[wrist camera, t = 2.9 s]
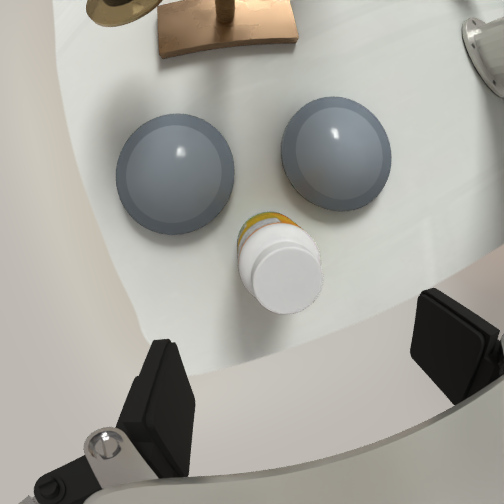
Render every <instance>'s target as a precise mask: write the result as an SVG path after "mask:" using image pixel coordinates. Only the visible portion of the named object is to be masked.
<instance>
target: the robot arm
mask: <svg viewBox="0 0 504 504" xmlns="http://www.w3.org/2000/svg"><path fill="white" fill-rule="evenodd" d="M462 34H463V39H464V43H465V46H466V49H467V51H468V53H469V56H470V58H471V60H472V62H473V64H474V66H475V67H476V69H477V71H478V73H479V74H480V76H481V77H482V79H483V80H484V81H485V83H486V84H487V85H488V86H489V88H490V89H491V90H492V91H493V92H494V93H496V94H497V95H498V96H500V97H501V98H504V17H502V18H499V19H496V20H494V21H491V22H489V23H484V22H483V21H481V20H479V19H477V18H469V19H468V20H466V21H465V22H464V23H463V27H462ZM499 332H500V330H499V329H497V328H496V327H494V326H493V325H491V324H490V323H488V322H487V321H485V320H484V319H482V318H481V317H480V316H478V315H477V314H475V313H473V312H472V311H470V310H469V309H467V308H466V307H464V306H463V305H461V304H460V303H458V302H457V301H455V300H453V299H452V298H450V297H449V296H447V295H446V294H444V293H442V292H441V291H439V290H437V289H436V288H431V289H428V290H424V291H422V292H421V294H420V296H419V297H418V301H417V309H416V318H415V324H414V331H413V337H412V343H411V348H410V354H411V357H412V359H414V361H415V362H416V363H417V364H418V365H419V366H420V367H421V368H422V370H423V371H424V372H425V373H426V374H427V375H428V376H429V377H430V378H431V379H432V381H433V382H434V383H435V384H436V385H437V386H438V387H439V388H440V390H441V391H442V392H443V393H444V394H445V395H446V396H447V398H448V399H449V400H450V401H451V402H452V403H453V404H454V405H455V406H453V407H452V408H450V409H448V410H446V411H444V412H442V413H440V414H438V415H437V416H435V417H433V418H431V419H429V420H427V421H424V422H422V423H420V424H418V425H416V426H414V427H412V428H409V429H407V430H405V431H403V432H400V433H398V434H395V435H393V436H390V437H388V438H385V439H383V440H380V441H378V442H375V443H372V444H369V445H366V446H363V447H360V448H357V449H354V450H351V451H348V452H344V453H341V454H338V455H334V456H331V457H327V458H323V459H319V460H315V461H311V462H306V463H302V464H297V465H293V466H287V467H281V468H276V469H269V470H263V471H256V472H248V473H239V474H230V475H218V476H198V477H188V475H189V465H190V454H191V443H192V432H193V422H194V413H195V398H194V394H193V392H192V389H191V386H190V383H189V381H188V378H187V375H186V372H185V369H184V366H183V363H182V360H181V357H180V354H179V351H178V347H177V345H176V343H175V342H173V343H171V341H170V339H162V340H154V341H153V342H152V345H151V347H150V349H149V352H148V354H147V357H146V359H145V362H144V364H143V367H142V369H141V372H140V374H139V376H137V377H135V379H134V381H133V383H132V386H131V388H130V391H129V393H128V396H127V398H126V401H125V403H124V406H123V409H122V412H121V414H120V417H119V420H118V422H117V425H116V427H115V428H113V427H106V428H101V429H98V430H96V431H94V432H93V433H91V434H90V435H89V436H88V437H87V439H86V441H85V443H84V453H85V455H84V456H82V457H80V458H78V459H76V460H74V461H72V462H70V463H68V464H66V465H64V466H62V467H60V468H58V469H55V470H53V471H51V472H49V473H47V474H45V475H43V476H42V477H40V478H39V479H38V480H37V482H36V484H35V486H34V495H35V496H34V497H33V498H32V497H30V496H28V497H26V498H25V499H24V500H23V501H22V502H20V503H19V504H504V334H503V335H502V337H501V340H500V341H499V340H498V335H499Z"/></svg>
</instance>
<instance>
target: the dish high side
mask: <svg viewBox="0 0 504 504" xmlns="http://www.w3.org/2000/svg"><path fill="white" fill-rule="evenodd" d="M281 159H282V164H283V167H284V170H285V173H286V175H287V177H288V179H289V181H290V183H291V184H292V186H293V187H294V188H295V189H296V191H297V192H298V193H299V194H300V195H301V196H303V197H304V198H305V199H307V200H308V201H309V202H311V203H313V204H315V205H317V206H320V207H323V208H325V209H329V210H333V211H350V210H355V209H358V208H361V207H363V206H365V205H367V204H368V203H369V202H371V201H372V200H373V199H374V198H375V197H377V195H378V194H379V193H380V192H381V191H382V189H383V187H384V186H385V184H386V182H387V179H388V176H389V173H390V168H391V148H390V143H389V140H388V137H387V134H386V132H385V130H384V128H383V126H382V125H381V123H380V122H379V121H378V119H377V118H376V117H375V116H374V115H373V114H372V113H371V112H370V111H369V110H368V109H367V108H365V107H364V106H362V105H361V104H359V103H357V102H355V101H352V100H350V99H346V98H342V97H324V98H319V99H317V100H314V101H312V102H310V103H308V104H306V105H305V106H304V107H302V108H301V109H300V110H299V111H298V112H297V113H296V114H295V115H294V116H293V117H292V118H291V120H290V121H289V122H288V124H287V126H286V128H285V131H284V134H283V137H282V142H281Z"/></svg>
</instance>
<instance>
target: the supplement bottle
mask: <svg viewBox="0 0 504 504" xmlns="http://www.w3.org/2000/svg"><path fill="white" fill-rule="evenodd" d="M237 251H238V267H239V273H240V277H241V280H242V282H243V284H244V286H245V287H246V289H247V290H248V291H249V292H250V293H251V294H252V295H253V296H254V297H256V298H257V300H258V301H259V303H260V304H261V305H262V306H263V307H265V308H266V309H268V310H269V311H271V312H274V313H277V314H293V313H297V312H300V311H302V310H304V309H306V308H307V307H309V306H310V305H311V304H312V303H313V302H314V301H315V300H316V299H317V297H318V295H319V294H320V291H321V289H322V285H323V271H322V268H321V256H320V252H319V249H318V247H317V245H316V243H315V241H314V240H313V239H312V237H311V236H310V235H309V234H308V233H307V232H306V231H304V230H303V229H302V228H301V227H299V226H298V225H297V224H296V223H294V222H293V221H292V220H290V219H289V218H288V217H286V216H284V215H282V214H280V213H277V212H262V213H259V214H256V215H254V216H252V217H251V218H249V219H248V220H247V221H246V222H245V223H244V225H243V226H242V228H241V230H240V232H239V235H238V240H237Z"/></svg>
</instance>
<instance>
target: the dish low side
mask: <svg viewBox="0 0 504 504" xmlns="http://www.w3.org/2000/svg"><path fill="white" fill-rule="evenodd" d="M233 182H234V162H233V157H232V153H231V151H230V148H229V146H228V144H227V142H226V140H225V139H224V137H223V136H222V135H221V133H220V132H219V131H218V130H217V129H216V128H215V127H213V126H212V125H211V124H209V123H208V122H206V121H204V120H203V119H200V118H198V117H195V116H191V115H187V114H169V115H163V116H160V117H157V118H155V119H152V120H150V121H148V122H147V123H145V124H143V125H142V126H141V127H140V128H138V129H137V130H136V131H135V132H134V133H133V134H132V135H131V136H130V138H129V139H128V140H127V142H126V143H125V145H124V147H123V149H122V151H121V153H120V156H119V159H118V163H117V168H116V185H117V190H118V194H119V197H120V200H121V202H122V204H123V206H124V208H125V209H126V211H127V212H128V213H129V215H130V216H131V217H132V218H133V219H134V220H135V221H136V222H138V223H139V224H140V225H142V226H143V227H145V228H147V229H149V230H151V231H154V232H157V233H161V234H167V235H178V234H185V233H189V232H192V231H195V230H197V229H199V228H201V227H203V226H205V225H206V224H208V223H209V222H210V221H212V220H213V219H214V218H215V217H216V216H217V215H218V214H219V212H220V211H221V210H222V209H223V207H224V206H225V204H226V202H227V200H228V198H229V196H230V193H231V190H232V187H233Z"/></svg>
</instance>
